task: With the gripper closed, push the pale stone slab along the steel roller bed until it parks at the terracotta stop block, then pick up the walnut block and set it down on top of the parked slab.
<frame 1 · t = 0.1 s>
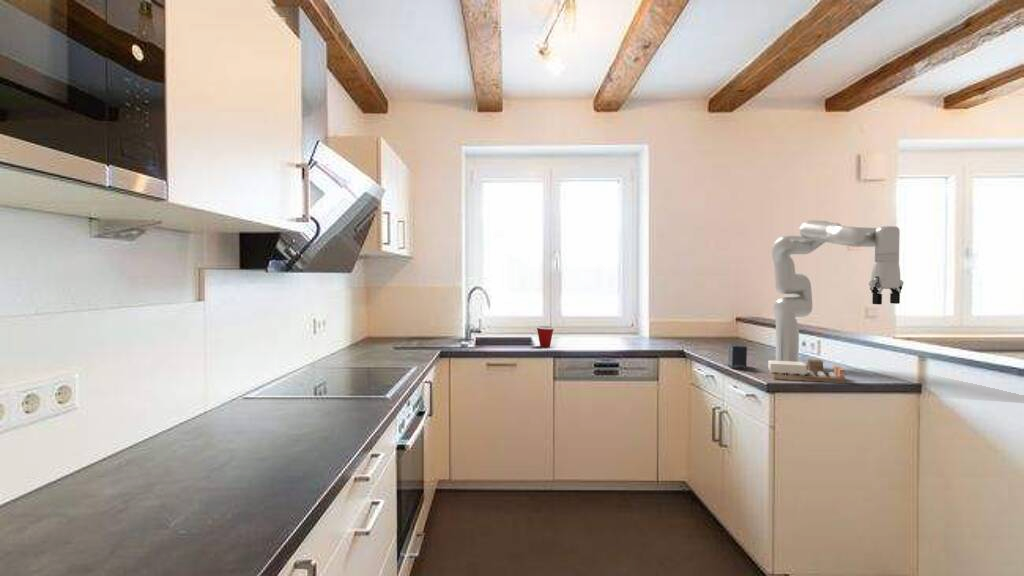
hand: (886, 303, 197), 31 cm above the worktop, tool pointing down, fingers open, 9 cm apart
roller bed: (805, 378, 211), on the worktop
slab: (786, 371, 213), point 2 cm above the worktop, touching roller bed
plastic cup: (545, 346, 303), on the worktop
small box: (737, 367, 236), on the worktop
walnut block: (814, 374, 218), on the worktop
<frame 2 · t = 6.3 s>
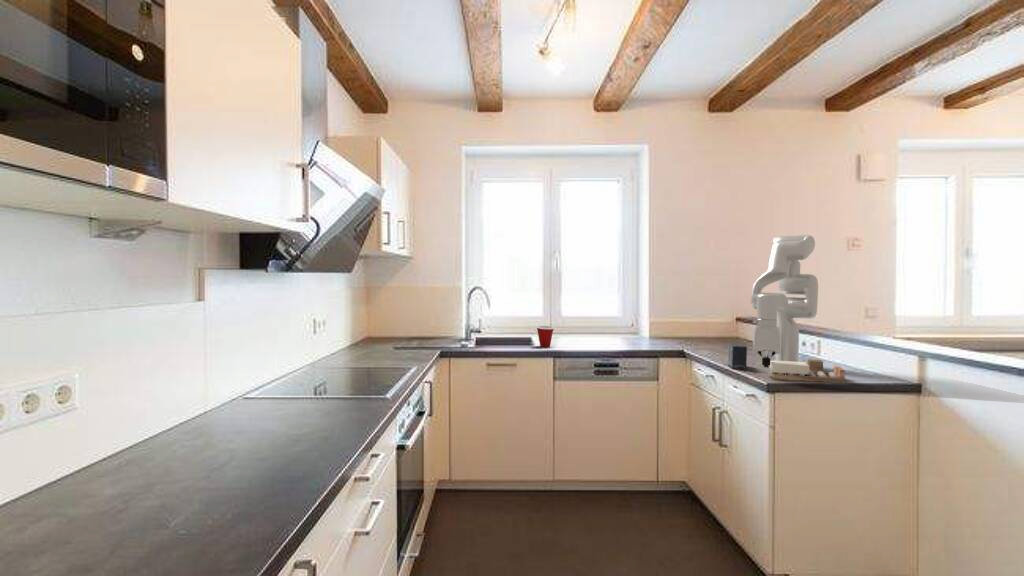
hand: (766, 366, 216), 4 cm above the worktop, tool pointing down, fingers closed
slab: (788, 371, 213), point 2 cm above the worktop, touching gripper
everything else where it was.
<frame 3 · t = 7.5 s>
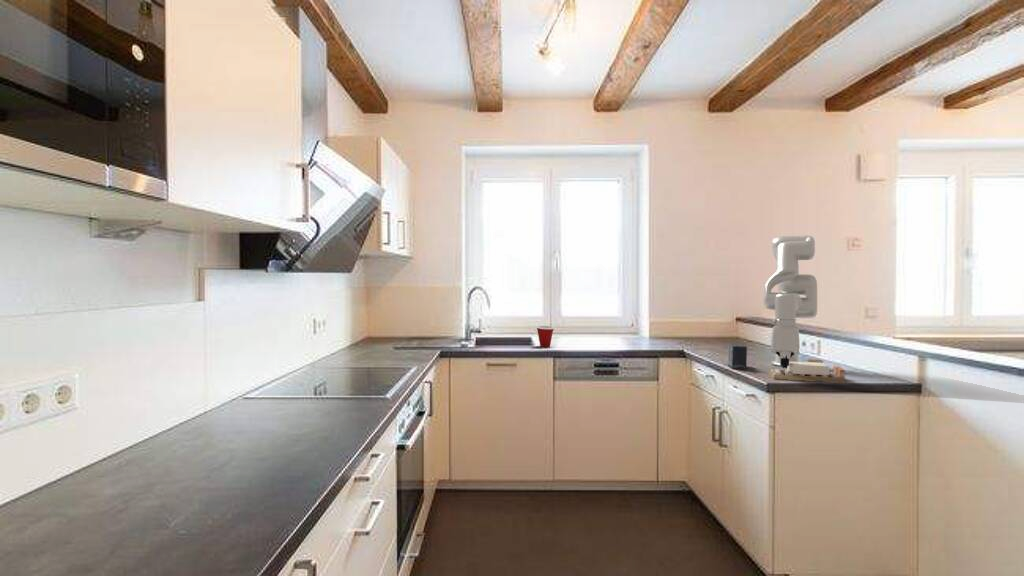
hand: (784, 367, 213), 4 cm above the worktop, tool pointing down, fingers closed
slab: (807, 372, 211), point 2 cm above the worktop, touching gripper, roller bed
everything else where it was.
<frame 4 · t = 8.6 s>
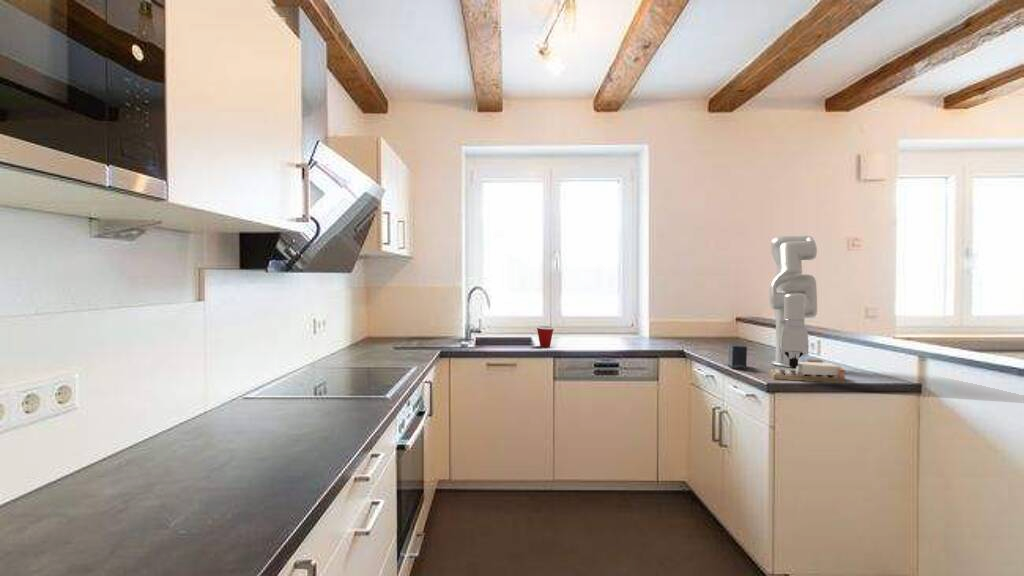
hand: (793, 368, 212), 4 cm above the worktop, tool pointing down, fingers closed
slab: (816, 372, 210), point 2 cm above the worktop, touching gripper, roller bed
everything else where it was.
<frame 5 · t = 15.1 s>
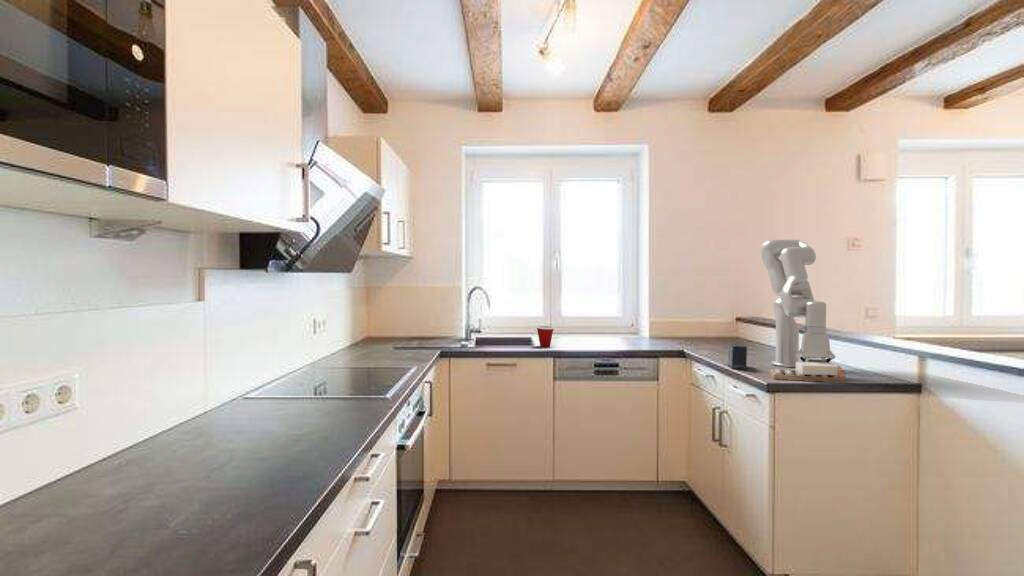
hand: (815, 372, 218), 1 cm above the worktop, tool pointing down, fingers closed on walnut block, 5 cm apart
slab: (816, 372, 210), point 2 cm above the worktop, touching roller bed
walnut block: (815, 374, 218), on the worktop, touching gripper
everything else where it was.
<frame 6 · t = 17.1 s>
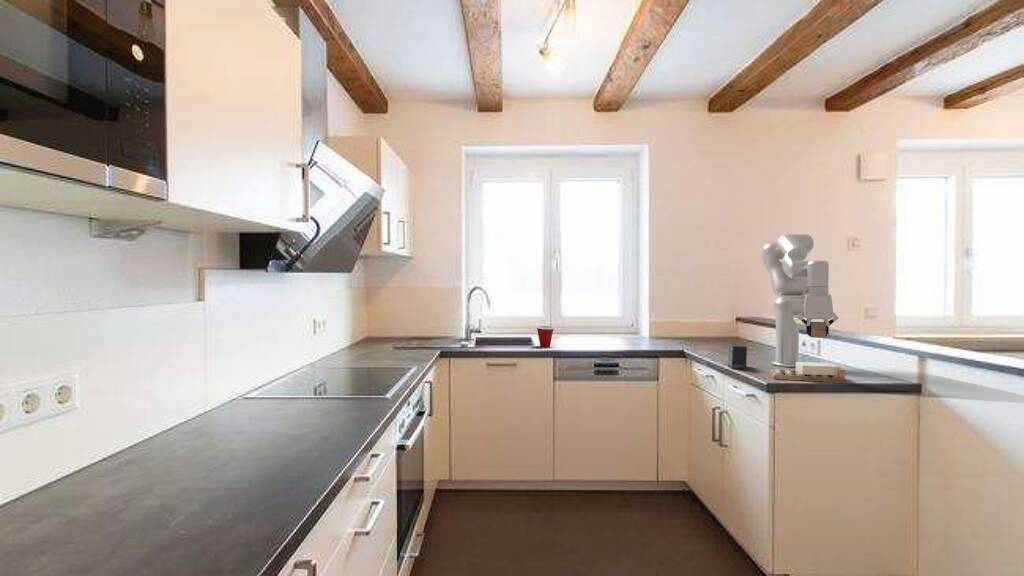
hand: (817, 335, 209), 18 cm above the worktop, tool pointing down, fingers closed on walnut block, 5 cm apart
walnut block: (817, 337, 209), point 17 cm above the worktop, touching gripper
everything else where it was.
when the fingers open (8 cm above the worktop, at t = 19.3 s): walnut block drops 1 cm, resting on slab.
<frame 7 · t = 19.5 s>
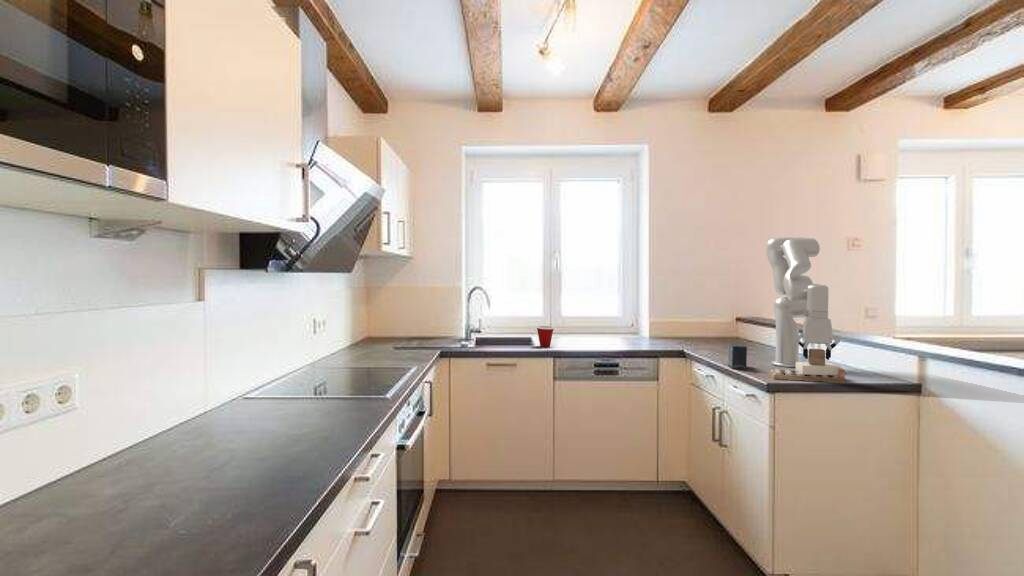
hand: (816, 358, 209), 8 cm above the worktop, tool pointing down, fingers open, 7 cm apart
slab: (816, 372, 210), point 2 cm above the worktop, touching roller bed, walnut block
walnut block: (816, 364, 209), point 6 cm above the worktop, touching slab
everything else where it was.
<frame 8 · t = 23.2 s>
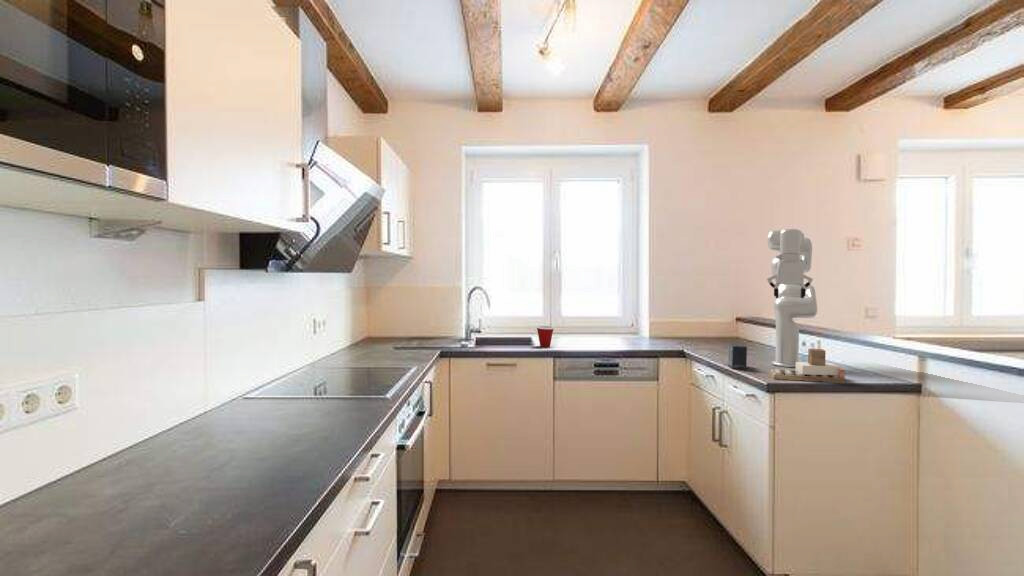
hand: (789, 298, 221), 32 cm above the worktop, tool pointing down, fingers open, 9 cm apart
nothing on the worktop moved.
at the end: slab 0.3 cm from the target spot, point 2.4 cm above the worktop; walnut block inside the target area on the slab (0.5 cm from its centre), point 3.5 cm above the slab's base; walnut block tilted 0° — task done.
